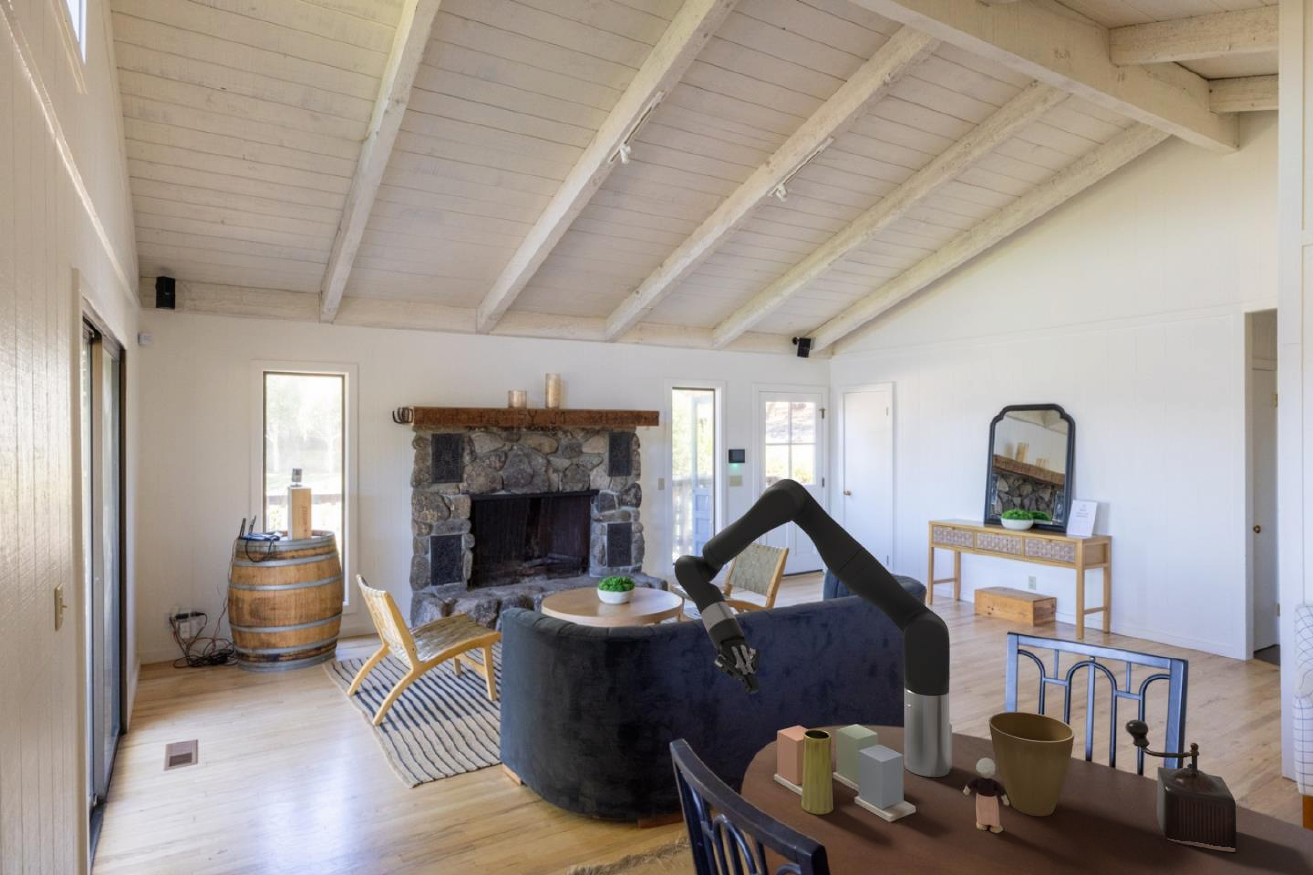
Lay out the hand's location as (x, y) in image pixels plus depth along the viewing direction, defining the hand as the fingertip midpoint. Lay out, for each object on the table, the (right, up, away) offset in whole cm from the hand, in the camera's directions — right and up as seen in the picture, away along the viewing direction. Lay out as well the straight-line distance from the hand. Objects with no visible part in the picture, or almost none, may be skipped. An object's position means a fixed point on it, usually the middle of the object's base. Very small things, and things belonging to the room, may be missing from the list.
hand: (754, 691), depth 170 cm
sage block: (+20, -13, -12) cm, 27 cm away
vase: (+9, -15, -23) cm, 29 cm away
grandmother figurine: (+39, -15, -31) cm, 52 cm away
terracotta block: (+7, -13, -12) cm, 20 cm away
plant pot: (+51, -15, -23) cm, 58 cm away
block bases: (+17, -15, -17) cm, 28 cm away
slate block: (+22, -13, -22) cm, 34 cm away
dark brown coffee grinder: (+73, -15, -32) cm, 81 cm away
